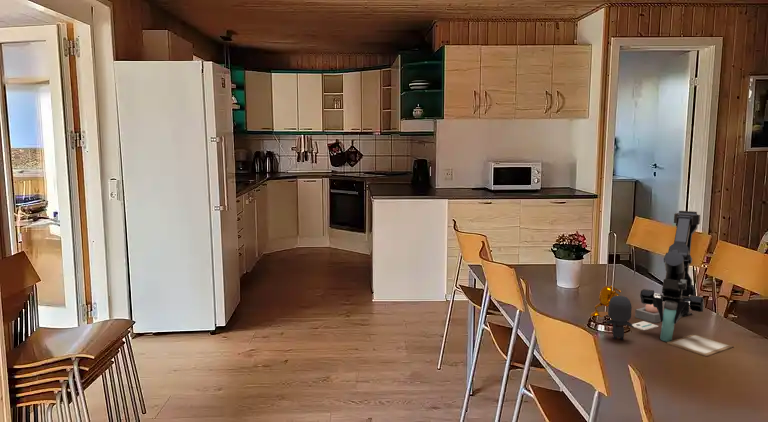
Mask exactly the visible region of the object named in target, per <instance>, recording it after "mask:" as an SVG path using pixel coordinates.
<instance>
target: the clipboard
mask: <svg viewBox="0 0 768 422" xmlns="http://www.w3.org/2000/svg"><path fill="white" fill-rule="evenodd" d="M666 344H667V345H670V346H673V347H676V348H679V349H682V350H685V351H687V352H690V353H694V354H697V355H700V356H702V357H705V358H706V357H709V356H713V355H715V354H718V353H721V352H725V351H727V350H730V349H733V348H734V345H732V344H731V345H730V344H728V343H724V342H721V341H717V340H715V339H712V338H711V339H710V338H709V337H705V336H702V335H698V334H695V333H693V334H690V335H687V336H682V337H679V338H676V339H674V340H673V339H672V341H670V342H666Z"/></svg>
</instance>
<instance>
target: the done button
mask: <svg viewBox="0 0 768 422" xmlns="http://www.w3.org/2000/svg"><path fill="white" fill-rule="evenodd" d="M645 307H646V308H645V311H647V312H650V313H658V310H657V308H656V307H654V306H653V304H652V305H650V304H645Z"/></svg>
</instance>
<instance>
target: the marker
mask: <svg viewBox="0 0 768 422" xmlns="http://www.w3.org/2000/svg"><path fill="white" fill-rule="evenodd" d="M677 305H678V303H677V302H675V301H670V300H666V301H665V302H664V305H663V310H664V314H663V321H662V322H661V329H660V334H659V335H660V336H659V339H660V341H663V342H666V343H667V342H670V341H673V336H674V331H675V324H674V319H675V315H676V310H677Z"/></svg>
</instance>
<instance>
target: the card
mask: <svg viewBox="0 0 768 422" xmlns="http://www.w3.org/2000/svg"><path fill="white" fill-rule="evenodd" d="M631 324H632V326H634V327H633V328H635V329H638V330H641V331H644V332H645V331H647V330H652V329H655V328H658V327H659V325H657V324H655V323H652V322H649V321H645V320H642V321H639V322H636V323H635V322H634V323H631Z"/></svg>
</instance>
